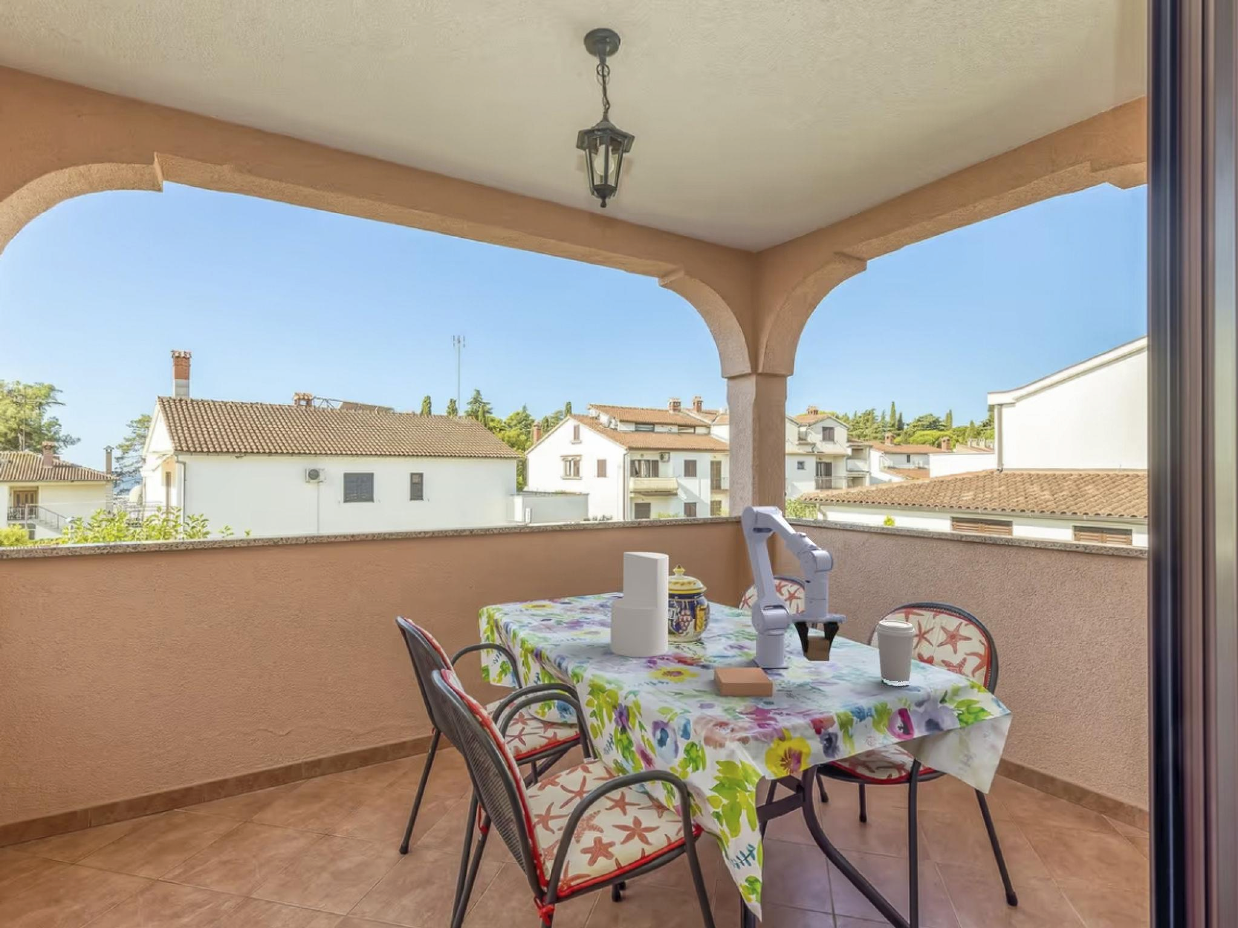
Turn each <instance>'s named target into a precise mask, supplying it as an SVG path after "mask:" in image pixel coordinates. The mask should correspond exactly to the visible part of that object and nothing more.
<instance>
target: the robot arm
mask: <svg viewBox="0 0 1238 928" xmlns="http://www.w3.org/2000/svg"><path fill="white" fill-rule="evenodd" d="M740 520H741V521H740V522H741V525H742V526H741V527H742V529H743V530H742V531H743V534H744V537H745V539H746V545H747V549H748V550H747V551H748V555H749V560H750V564H751V570H752V575H753V580H754V585H755V590H756V594H757V595H756V596H757V598H756V600H755V601H754V602H753V603H752V604H751V606H750V608H751V624H752V627H753V628H754V630H755V632H756V633H757V634H756V637H755V640H756V641H755V642H756V643H755V645H756V646H755V656H752V659H753V660H754V662H755V663H756V664H757V666H758V668H761V669H789V668H790V666H789V665H788V664H787V662H786V661H785V654H786V653H785V650H786V649H785V646H786V645H785V644H786V643H785V641H786V640H785V638H786V637H785V634H786V633H788V629H789V628H790V627H791V625H792V624H793V625H794V627H795V630H796V632H797V634H798V637H799V641H800V646H801V650H802V653H803V652H804V653H807V651H808V636H809V631H810V630H809V629H810V627H808V624H823V636H824V637H825V638H826V639H828V640H829V654H830V653H831V648H832V646H833V642H834V639H835V637H836V635H837V633H838V632H839V631H840V625H839V624H842V625H846V624H847V616H846V615H845V614H838V613H837V614H836V613H835V614H834V613H829V572H831V571H832V570H833V567H834V565H835V564H834V563H835V562H834V557H833V554H832V553H831V552H830V551H829V549H826V548H821V547H818V545H817V543H814V542H813V541H812V540H811V539H810V538H809V537H808V536H807V534H806V533H805V532H801V531H797V532H796V530H795V529H794V528H793V527H792V525H790V524H789V523H788V521H786V520H785V517H783V512H782V510H781V509H780V508H779V507H777V506H776V505H770V506H765V505H764V506H762V505H761V506H751V505H748V506H746V507H745V508H743V511H742V514H741V517H740ZM774 532H775V534H776V535H778V536H779V537H781V539H783V540H784V541H785V542H786V543H785V546H786V548H787V550H788V551H789V552H791V554H792V555H793V556H795V558H796V559H797V560H798V561H799V567H800V569H801V571H802V578H803V580H804V610H803V611H804V612H803V613H790V611H789V609H788V606H787V603H786V601H785V600H784V599H783V598H781V597H780V596H779V595H778V594H777V593H778V592H777V588H776V585H775V584H776V583H775V579H774V574H773V570H772V565H771V560H770V555H769V551H768V547H767V540H768V538H769V537H771V536H772V535H773V533H774Z"/></svg>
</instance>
